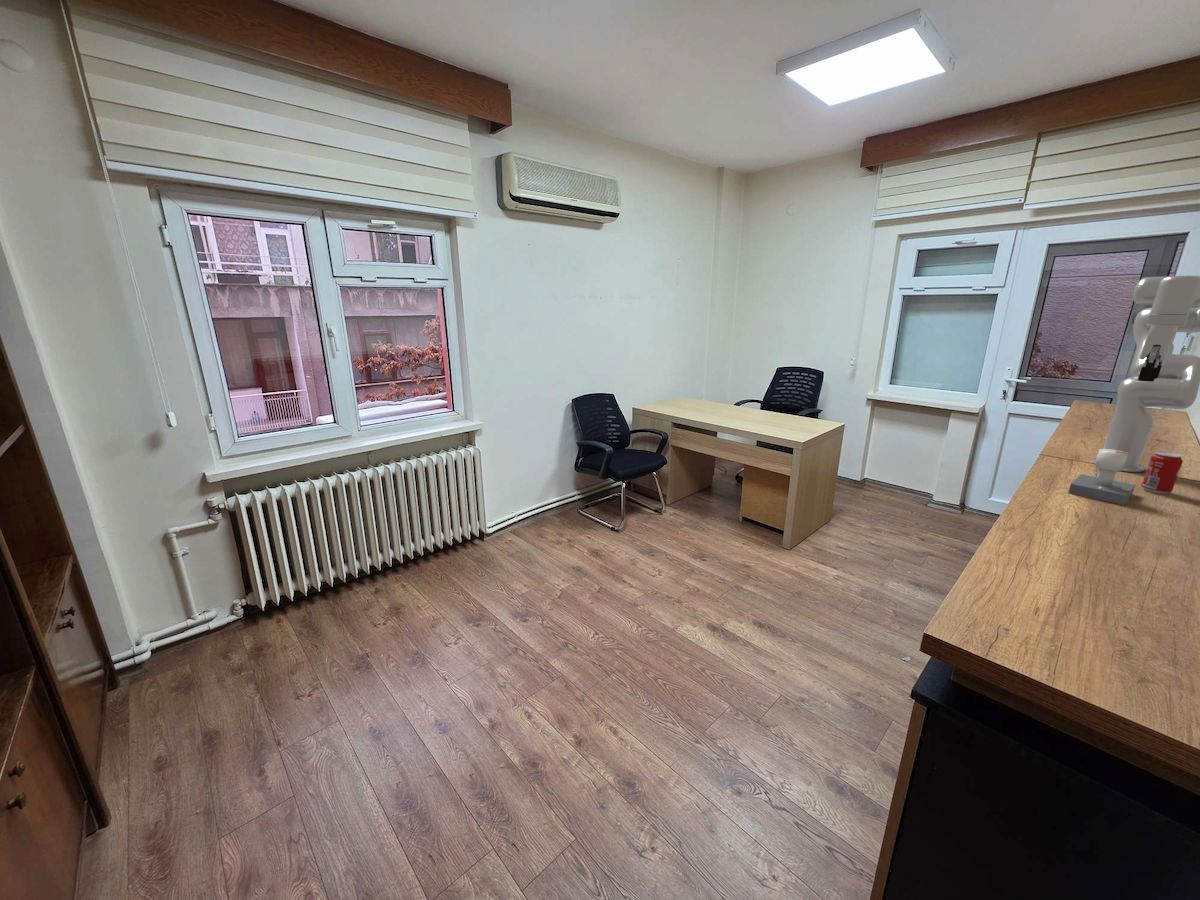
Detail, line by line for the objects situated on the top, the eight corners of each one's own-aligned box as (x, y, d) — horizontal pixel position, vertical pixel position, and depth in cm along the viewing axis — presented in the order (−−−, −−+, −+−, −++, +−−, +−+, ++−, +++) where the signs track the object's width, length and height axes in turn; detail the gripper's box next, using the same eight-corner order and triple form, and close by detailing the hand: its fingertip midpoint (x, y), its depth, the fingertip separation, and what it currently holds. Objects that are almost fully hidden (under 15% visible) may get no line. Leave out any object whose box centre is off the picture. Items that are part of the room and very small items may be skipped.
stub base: (1078, 483, 155) (1085, 459, 153) (1132, 494, 146) (1140, 469, 143) (1068, 493, 147) (1075, 468, 144) (1124, 505, 138) (1133, 479, 135)
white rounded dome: (1094, 467, 144) (1099, 450, 142) (1094, 463, 148) (1099, 446, 146) (1123, 472, 140) (1129, 455, 138) (1122, 467, 144) (1128, 450, 142)
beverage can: (1177, 495, 145) (1191, 457, 141) (1156, 495, 145) (1169, 457, 142) (1154, 487, 151) (1167, 451, 147) (1134, 487, 151) (1146, 450, 148)
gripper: (1151, 319, 148) (1133, 375, 153) (1143, 321, 138) (1125, 380, 143) (1189, 320, 142) (1169, 378, 147) (1184, 321, 132) (1163, 383, 137)
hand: (1147, 379), depth 145 cm, fingers open, 9 cm apart
